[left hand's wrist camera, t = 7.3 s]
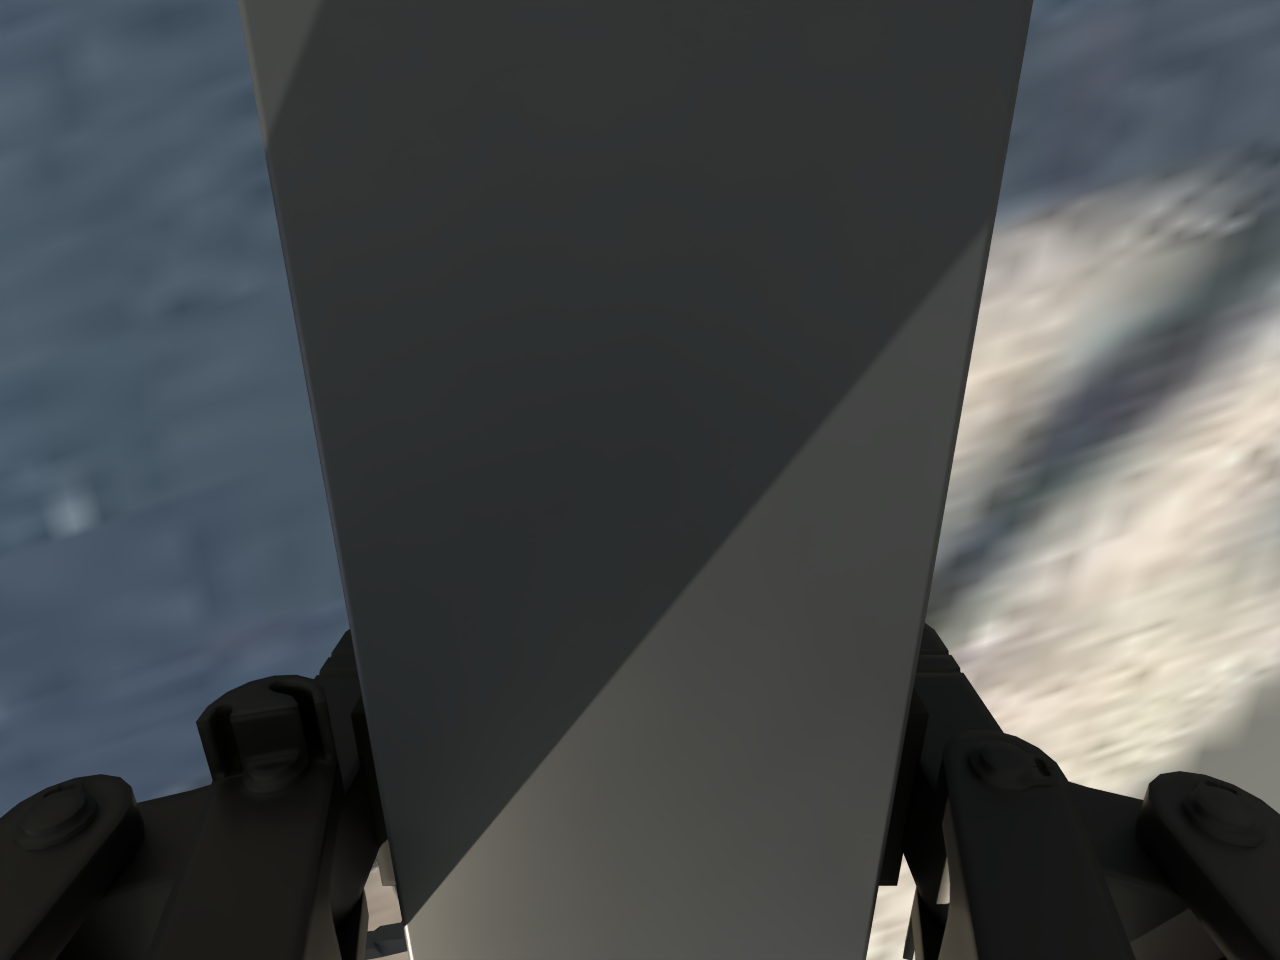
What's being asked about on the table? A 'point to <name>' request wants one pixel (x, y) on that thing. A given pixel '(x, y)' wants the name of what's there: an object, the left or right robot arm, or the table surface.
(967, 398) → the table surface
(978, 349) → the table surface
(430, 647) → the beam
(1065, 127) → the table surface
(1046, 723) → the table surface
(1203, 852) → the left robot arm
